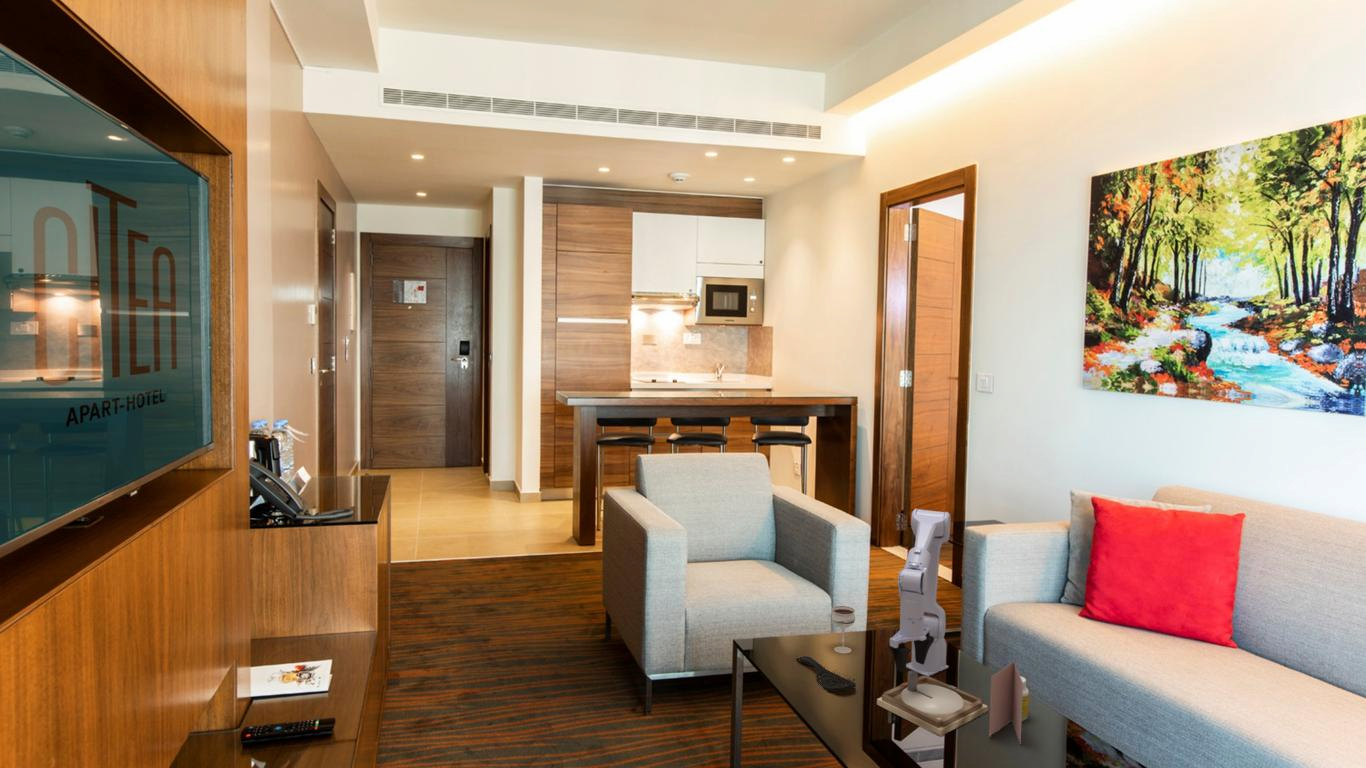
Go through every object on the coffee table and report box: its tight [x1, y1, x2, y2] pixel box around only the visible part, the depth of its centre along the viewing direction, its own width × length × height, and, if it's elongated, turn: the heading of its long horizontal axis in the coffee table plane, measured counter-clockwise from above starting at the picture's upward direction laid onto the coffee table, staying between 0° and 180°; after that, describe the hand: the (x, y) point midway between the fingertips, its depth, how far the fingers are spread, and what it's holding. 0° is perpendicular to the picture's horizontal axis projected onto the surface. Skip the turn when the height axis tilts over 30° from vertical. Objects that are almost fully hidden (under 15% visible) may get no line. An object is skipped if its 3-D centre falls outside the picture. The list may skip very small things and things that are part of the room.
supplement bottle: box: [1020, 675, 1030, 720], centre depth 204 cm, size 5×5×10 cm
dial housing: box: [876, 675, 989, 737], centre depth 208 cm, size 19×19×3 cm
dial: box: [901, 670, 964, 717], centre depth 208 cm, size 15×15×5 cm
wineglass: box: [831, 605, 856, 654], centre depth 242 cm, size 7×7×12 cm
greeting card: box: [988, 661, 1023, 745], centre depth 195 cm, size 11×7×15 cm, turn 133°
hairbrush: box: [796, 655, 857, 692], centre depth 226 cm, size 8×4×25 cm
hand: (910, 667), depth 212 cm, fingers open, 7 cm apart
